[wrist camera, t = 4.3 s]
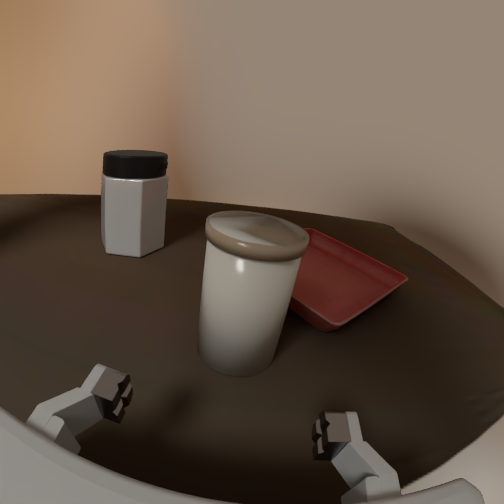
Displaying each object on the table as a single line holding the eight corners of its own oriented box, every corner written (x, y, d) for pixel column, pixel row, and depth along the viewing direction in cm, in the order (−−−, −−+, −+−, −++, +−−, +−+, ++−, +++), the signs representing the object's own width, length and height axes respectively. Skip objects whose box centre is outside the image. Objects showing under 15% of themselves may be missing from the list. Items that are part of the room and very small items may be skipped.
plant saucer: (326, 354, 22) (339, 324, 21) (211, 264, 35) (214, 239, 33) (401, 298, 34) (410, 277, 33) (305, 246, 46) (310, 227, 45)
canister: (186, 368, 18) (194, 234, 14) (204, 317, 24) (217, 205, 20) (275, 384, 18) (316, 256, 14) (276, 330, 24) (303, 221, 20)
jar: (171, 254, 34) (179, 157, 30) (108, 262, 30) (108, 157, 25) (151, 229, 41) (156, 149, 36) (99, 234, 36) (100, 150, 31)
